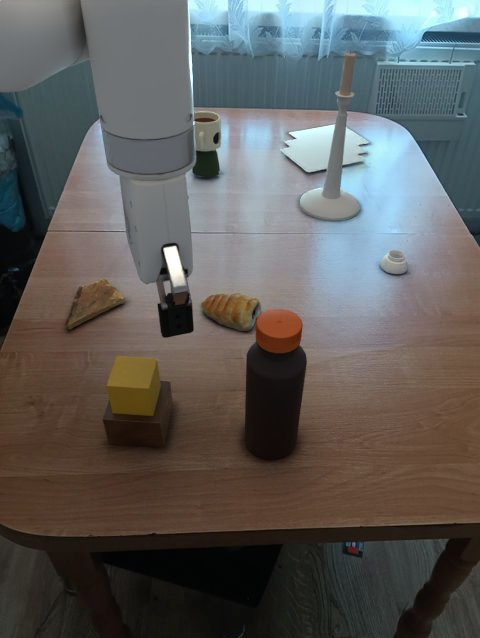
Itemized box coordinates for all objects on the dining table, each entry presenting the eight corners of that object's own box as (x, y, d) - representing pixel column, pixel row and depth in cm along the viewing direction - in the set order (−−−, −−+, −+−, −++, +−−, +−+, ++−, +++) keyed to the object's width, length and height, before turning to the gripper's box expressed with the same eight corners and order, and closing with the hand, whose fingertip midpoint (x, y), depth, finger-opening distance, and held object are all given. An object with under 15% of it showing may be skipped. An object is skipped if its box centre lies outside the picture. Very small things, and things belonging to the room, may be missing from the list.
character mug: (218, 186, 120) (217, 127, 111) (186, 184, 120) (182, 125, 111) (224, 165, 128) (224, 108, 119) (195, 163, 128) (192, 106, 119)
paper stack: (260, 137, 140) (260, 135, 140) (340, 123, 149) (340, 121, 149) (307, 175, 125) (307, 172, 125) (392, 157, 135) (393, 154, 134)
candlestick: (333, 186, 122) (354, 38, 102) (371, 211, 115) (402, 56, 94) (287, 200, 117) (299, 46, 96) (325, 227, 109) (346, 66, 89)
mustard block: (112, 413, 66) (106, 385, 62) (122, 383, 69) (116, 355, 66) (153, 416, 66) (149, 388, 62) (161, 386, 69) (157, 358, 66)
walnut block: (108, 444, 69) (102, 419, 65) (122, 402, 74) (116, 377, 70) (163, 448, 68) (159, 423, 65) (173, 406, 74) (170, 380, 70)
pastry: (195, 321, 86) (194, 302, 84) (211, 297, 91) (210, 278, 89) (250, 335, 85) (251, 316, 82) (263, 309, 89) (264, 291, 87)
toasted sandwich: (67, 332, 83) (64, 324, 82) (43, 309, 87) (40, 300, 86) (127, 304, 89) (125, 295, 88) (102, 283, 93) (101, 274, 92)
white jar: (398, 258, 102) (374, 262, 101) (401, 245, 100) (377, 249, 99) (412, 273, 99) (387, 277, 97) (415, 259, 97) (391, 264, 95)
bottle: (280, 412, 74) (290, 295, 60) (306, 448, 69) (324, 332, 56) (235, 429, 71) (235, 312, 57) (259, 468, 67) (266, 352, 53)
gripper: (92, 110, 50) (118, 264, 62) (121, 198, 38) (147, 367, 50) (171, 104, 52) (182, 254, 64) (222, 185, 40) (224, 351, 52)
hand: (167, 304), depth 57 cm, fingers open, 9 cm apart
